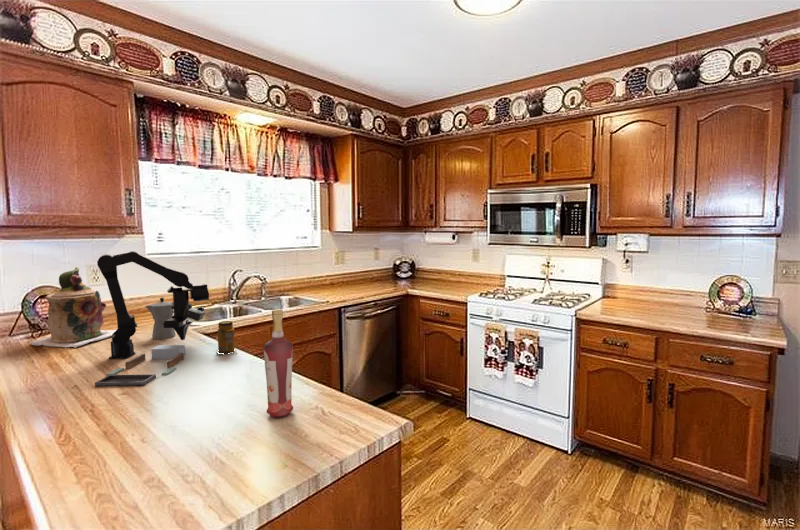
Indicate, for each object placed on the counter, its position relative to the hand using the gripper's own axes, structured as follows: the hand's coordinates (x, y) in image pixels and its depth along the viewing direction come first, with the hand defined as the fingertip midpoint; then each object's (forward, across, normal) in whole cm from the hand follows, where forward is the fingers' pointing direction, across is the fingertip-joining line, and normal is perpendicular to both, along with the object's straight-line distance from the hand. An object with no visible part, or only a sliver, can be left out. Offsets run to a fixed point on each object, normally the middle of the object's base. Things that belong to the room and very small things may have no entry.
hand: (183, 339), depth 172 cm
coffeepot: (+4, +18, +16) cm, 24 cm away
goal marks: (+3, -30, 0) cm, 30 cm away
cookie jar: (+4, +15, +53) cm, 55 cm away
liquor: (+3, -64, -55) cm, 85 cm away
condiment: (+4, -7, -20) cm, 22 cm away
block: (+4, -12, 0) cm, 12 cm away
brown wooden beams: (+3, -21, 0) cm, 21 cm away
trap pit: (+3, -38, 0) cm, 39 cm away
